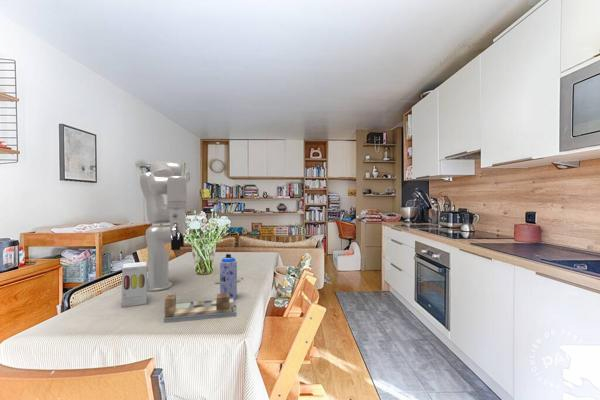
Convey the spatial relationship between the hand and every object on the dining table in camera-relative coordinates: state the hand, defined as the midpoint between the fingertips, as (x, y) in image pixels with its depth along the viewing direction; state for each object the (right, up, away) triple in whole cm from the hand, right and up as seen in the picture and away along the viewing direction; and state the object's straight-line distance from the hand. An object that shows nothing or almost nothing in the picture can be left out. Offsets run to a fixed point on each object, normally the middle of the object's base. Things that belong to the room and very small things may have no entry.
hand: (177, 248), depth 118 cm
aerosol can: (+17, -26, +16) cm, 34 cm away
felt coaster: (+1, -26, +2) cm, 26 cm away
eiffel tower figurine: (+11, -26, +42) cm, 50 cm away
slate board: (+10, -26, 0) cm, 28 cm away
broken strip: (+13, -26, +4) cm, 29 cm away
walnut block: (+19, -23, -2) cm, 30 cm away
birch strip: (+11, -25, -4) cm, 27 cm away
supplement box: (-23, -26, +9) cm, 35 cm away
